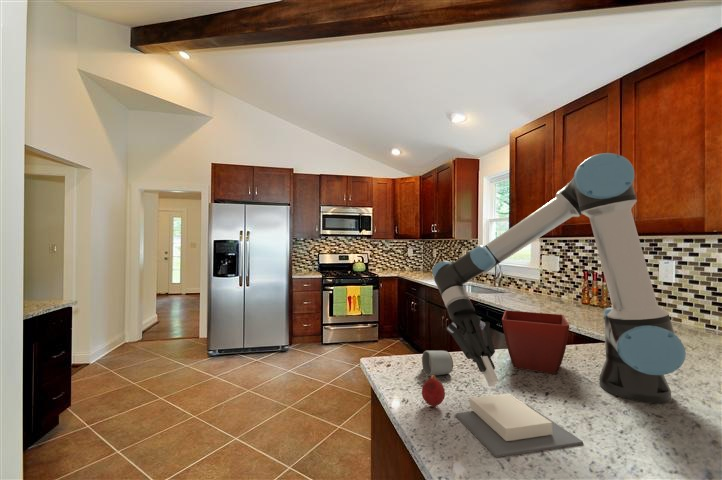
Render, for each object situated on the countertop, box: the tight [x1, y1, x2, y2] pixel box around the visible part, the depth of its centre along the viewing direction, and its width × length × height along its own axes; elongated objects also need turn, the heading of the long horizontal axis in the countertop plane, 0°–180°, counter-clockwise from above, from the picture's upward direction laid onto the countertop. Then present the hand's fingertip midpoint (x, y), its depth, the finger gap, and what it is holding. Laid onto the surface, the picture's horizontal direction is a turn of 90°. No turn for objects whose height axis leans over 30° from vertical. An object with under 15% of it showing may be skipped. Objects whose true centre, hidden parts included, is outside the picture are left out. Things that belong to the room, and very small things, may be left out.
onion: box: [421, 375, 446, 408], centre depth 80 cm, size 6×6×8 cm
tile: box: [469, 393, 552, 441], centre depth 72 cm, size 11×3×14 cm
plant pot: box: [501, 309, 570, 375], centre depth 108 cm, size 19×19×17 cm
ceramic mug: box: [421, 350, 454, 377], centre depth 103 cm, size 11×8×8 cm
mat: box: [454, 403, 584, 459], centre depth 70 cm, size 16×20×1 cm
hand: (493, 383), depth 77 cm, fingers closed
